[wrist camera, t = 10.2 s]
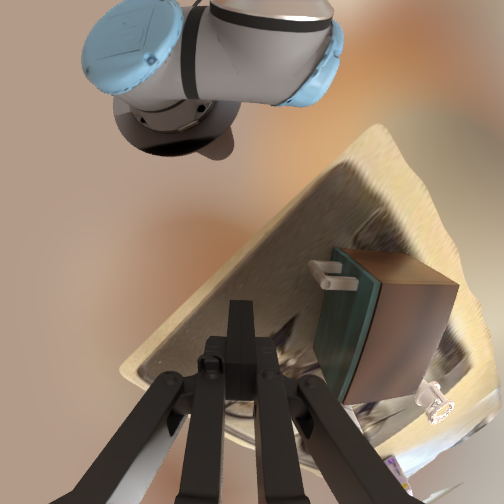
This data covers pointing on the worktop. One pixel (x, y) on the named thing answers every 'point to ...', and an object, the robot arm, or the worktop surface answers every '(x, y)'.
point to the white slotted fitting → (432, 401)
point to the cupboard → (399, 325)
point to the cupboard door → (342, 317)
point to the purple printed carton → (398, 473)
